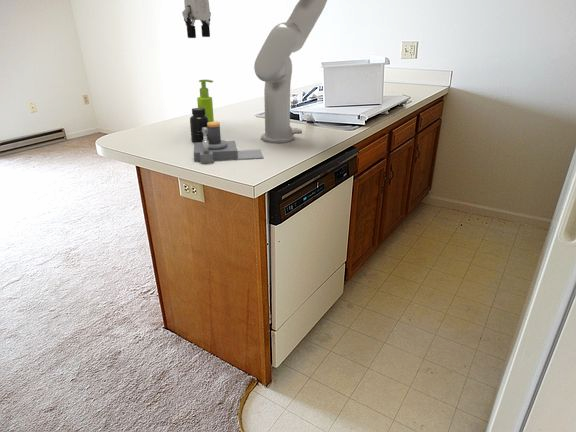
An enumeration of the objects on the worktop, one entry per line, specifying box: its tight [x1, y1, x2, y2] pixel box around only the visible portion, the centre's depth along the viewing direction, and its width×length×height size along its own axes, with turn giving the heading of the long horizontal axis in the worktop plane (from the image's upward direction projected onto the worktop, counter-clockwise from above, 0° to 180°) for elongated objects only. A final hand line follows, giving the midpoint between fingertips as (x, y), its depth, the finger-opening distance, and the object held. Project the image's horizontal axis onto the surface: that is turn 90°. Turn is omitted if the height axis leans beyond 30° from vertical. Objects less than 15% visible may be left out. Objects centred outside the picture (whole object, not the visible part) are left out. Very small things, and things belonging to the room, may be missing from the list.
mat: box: [235, 149, 264, 161], centre depth 141 cm, size 9×9×1 cm
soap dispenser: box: [196, 79, 215, 122], centre depth 167 cm, size 6×7×20 cm
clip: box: [202, 127, 209, 153], centre depth 136 cm, size 2×13×5 cm, turn 11°
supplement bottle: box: [189, 107, 209, 143], centre depth 154 cm, size 7×7×12 cm
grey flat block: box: [193, 140, 238, 165], centre depth 139 cm, size 14×14×3 cm
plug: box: [207, 120, 227, 149], centre depth 138 cm, size 8×8×11 cm
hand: (199, 37), depth 154 cm, fingers open, 9 cm apart
